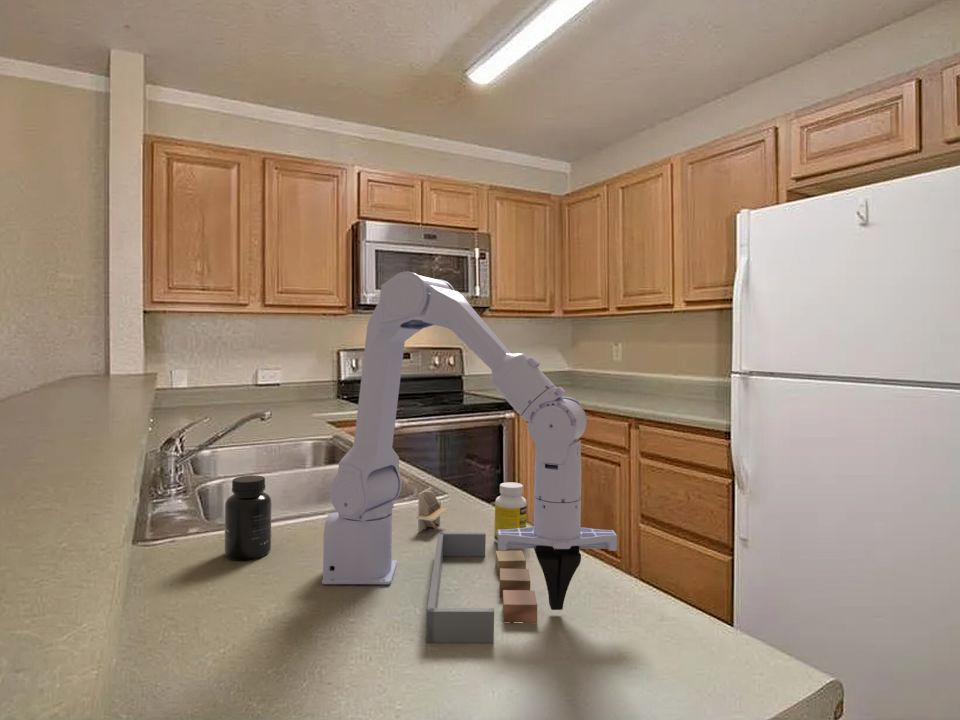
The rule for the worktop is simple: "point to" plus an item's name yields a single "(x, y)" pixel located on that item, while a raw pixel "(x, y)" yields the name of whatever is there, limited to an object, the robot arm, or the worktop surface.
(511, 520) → the supplement bottle
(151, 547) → the worktop surface
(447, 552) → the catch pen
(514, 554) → the oak tile
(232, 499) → the supplement bottle
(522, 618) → the cherry tile
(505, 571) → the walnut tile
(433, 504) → the architectural model
